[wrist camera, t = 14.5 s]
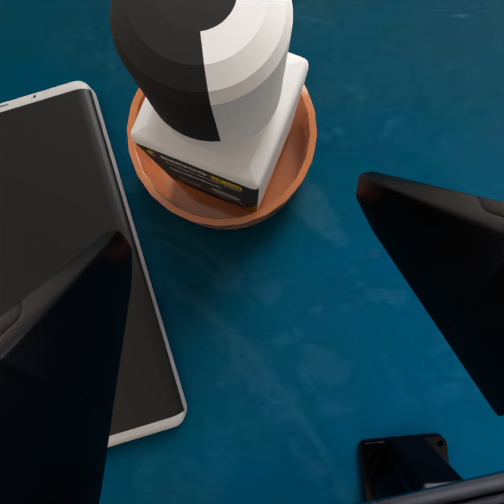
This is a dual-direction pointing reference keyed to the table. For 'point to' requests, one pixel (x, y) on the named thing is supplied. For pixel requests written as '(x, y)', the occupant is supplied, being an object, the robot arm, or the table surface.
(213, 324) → the table surface
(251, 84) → the medicine bottle
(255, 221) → the dish
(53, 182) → the smartphone
